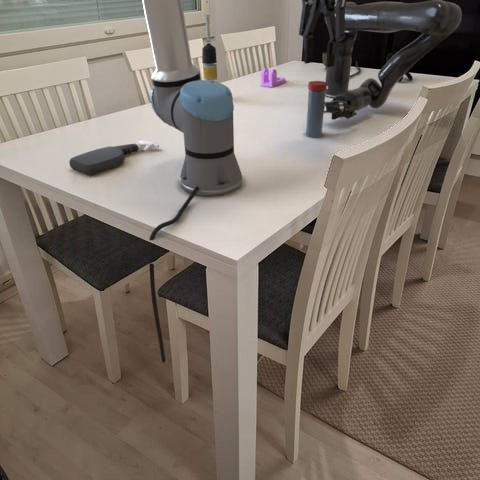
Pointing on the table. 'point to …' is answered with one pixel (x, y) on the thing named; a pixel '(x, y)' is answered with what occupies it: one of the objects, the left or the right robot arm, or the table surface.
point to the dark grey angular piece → (405, 73)
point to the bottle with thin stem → (209, 57)
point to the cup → (324, 59)
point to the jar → (315, 113)
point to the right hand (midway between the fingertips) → (320, 113)
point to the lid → (317, 85)
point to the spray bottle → (106, 157)
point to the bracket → (270, 78)
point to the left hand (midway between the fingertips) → (318, 64)
